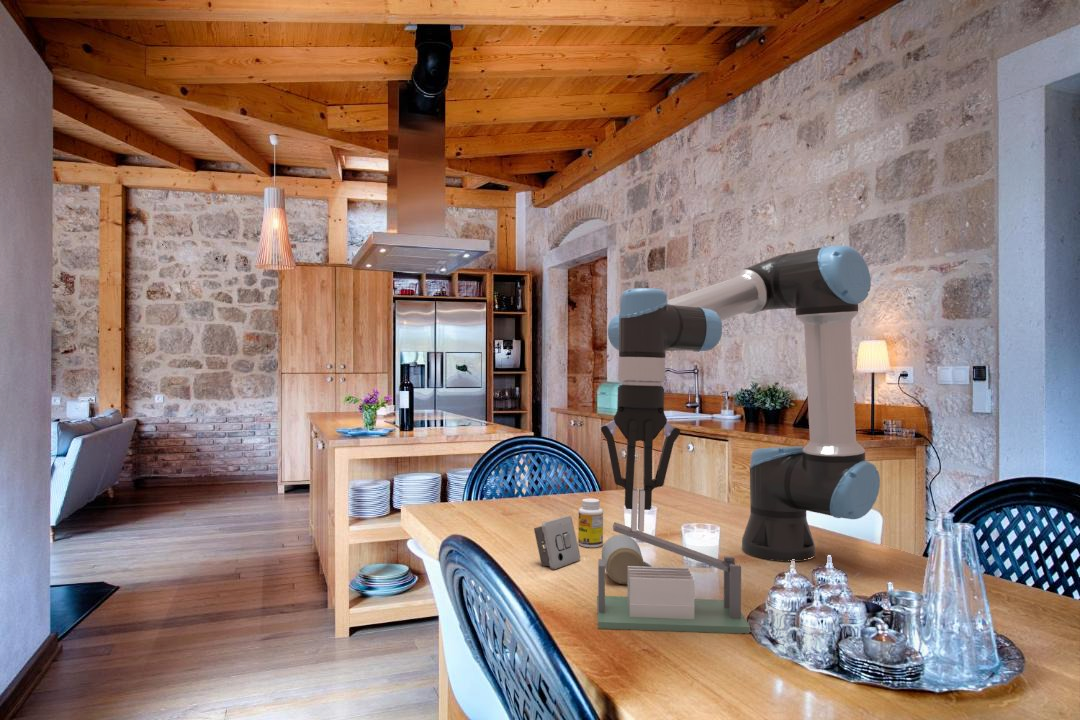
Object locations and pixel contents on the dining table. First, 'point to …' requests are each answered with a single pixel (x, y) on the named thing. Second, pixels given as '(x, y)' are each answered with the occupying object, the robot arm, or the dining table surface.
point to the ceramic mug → (621, 557)
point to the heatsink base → (670, 602)
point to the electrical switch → (557, 542)
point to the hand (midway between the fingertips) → (637, 529)
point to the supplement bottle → (590, 524)
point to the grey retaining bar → (673, 547)
